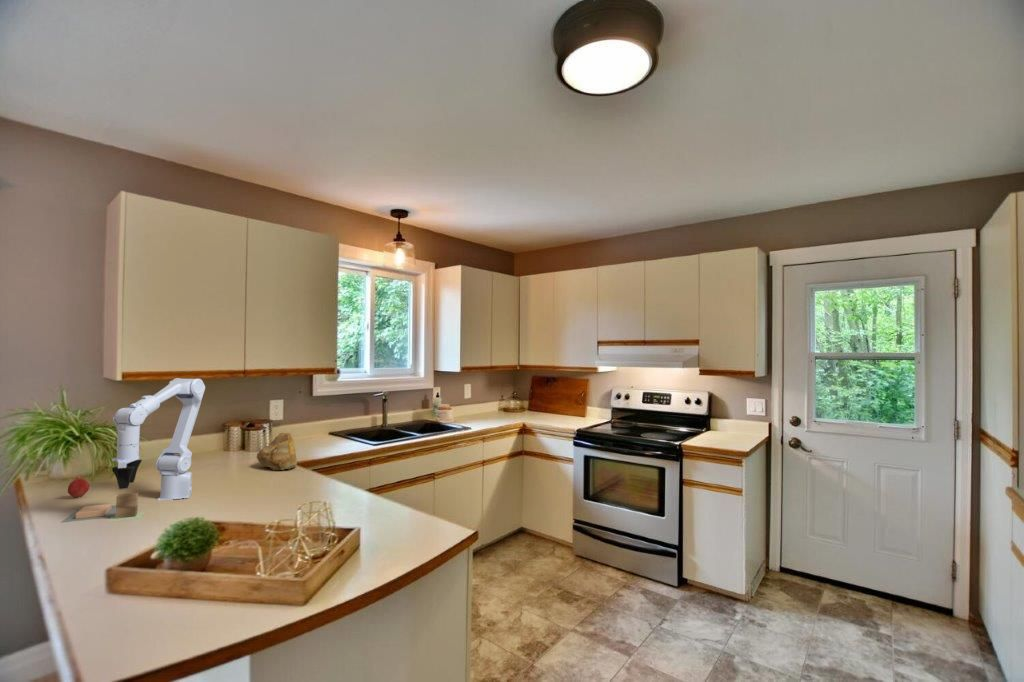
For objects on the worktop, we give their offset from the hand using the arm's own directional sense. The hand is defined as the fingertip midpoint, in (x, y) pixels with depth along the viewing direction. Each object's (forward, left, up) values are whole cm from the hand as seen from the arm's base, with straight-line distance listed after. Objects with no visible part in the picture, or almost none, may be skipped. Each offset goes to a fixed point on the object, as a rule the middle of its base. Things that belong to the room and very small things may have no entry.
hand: (126, 485), depth 156 cm
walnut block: (-1, +4, -9) cm, 10 cm away
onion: (+20, -28, -10) cm, 35 cm away
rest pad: (-1, +5, -9) cm, 11 cm away
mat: (+9, -4, -9) cm, 13 cm away
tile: (+9, -7, -8) cm, 14 cm away
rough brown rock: (-45, -54, -10) cm, 71 cm away
